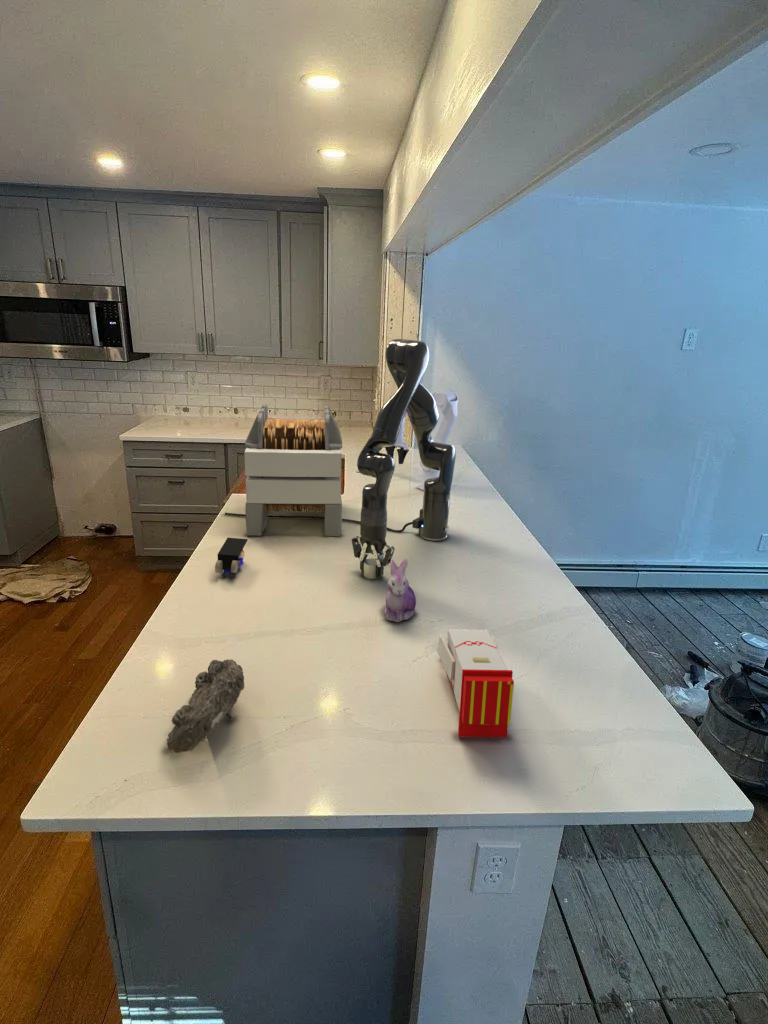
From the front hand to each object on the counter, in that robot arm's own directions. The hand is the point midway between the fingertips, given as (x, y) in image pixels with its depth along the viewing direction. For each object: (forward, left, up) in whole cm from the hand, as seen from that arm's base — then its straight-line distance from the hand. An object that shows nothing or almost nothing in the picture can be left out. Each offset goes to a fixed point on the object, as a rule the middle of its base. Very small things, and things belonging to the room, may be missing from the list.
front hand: (371, 574), depth 168 cm
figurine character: (-34, -24, 0) cm, 41 cm away
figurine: (+19, -13, 0) cm, 23 cm away
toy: (+48, -31, 0) cm, 57 cm away
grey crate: (-49, +19, -1) cm, 52 cm away
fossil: (+13, -68, 0) cm, 70 cm away
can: (0, 0, -1) cm, 1 cm away
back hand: (-51, +86, +8) cm, 100 cm away
